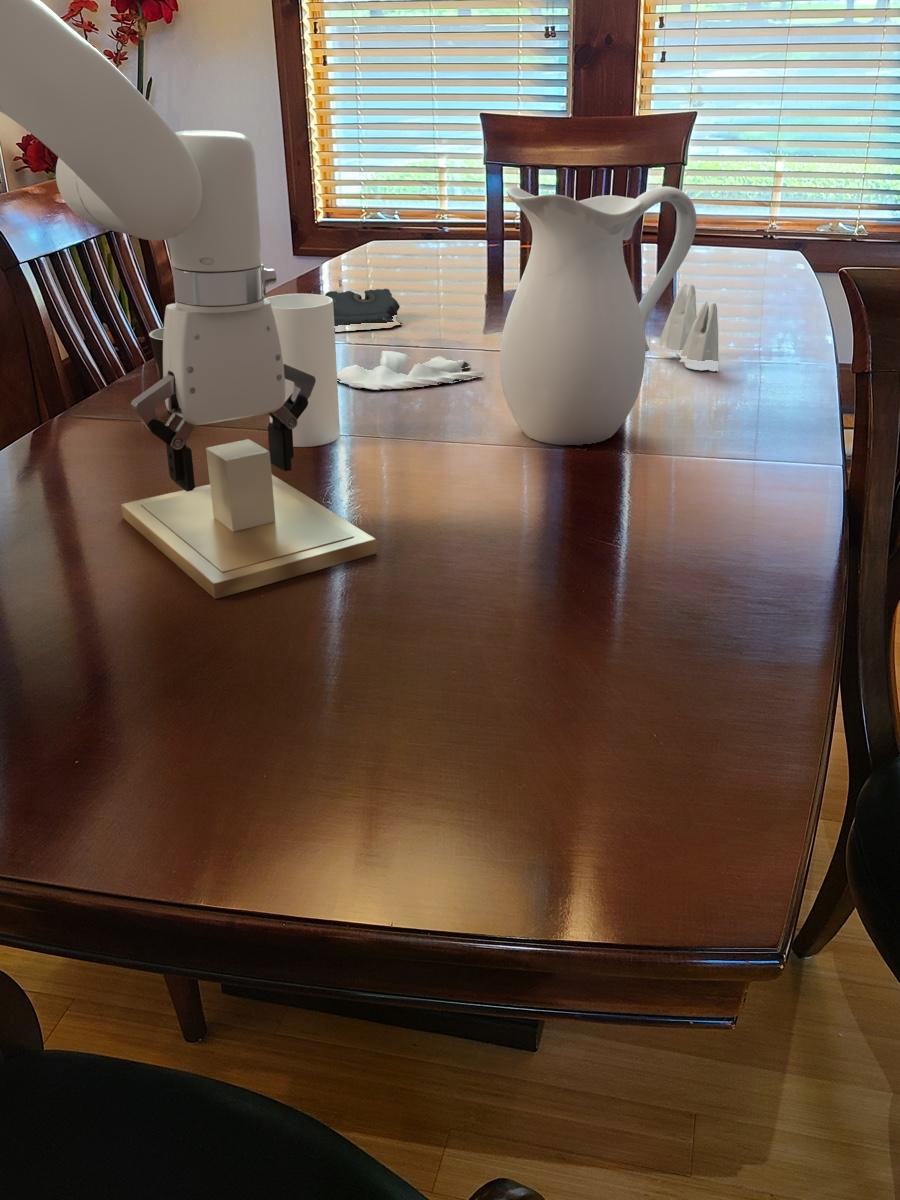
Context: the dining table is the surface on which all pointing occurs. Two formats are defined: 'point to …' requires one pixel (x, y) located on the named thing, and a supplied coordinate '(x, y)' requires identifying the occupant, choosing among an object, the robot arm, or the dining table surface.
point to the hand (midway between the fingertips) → (233, 476)
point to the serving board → (246, 539)
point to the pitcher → (582, 315)
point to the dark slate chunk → (363, 307)
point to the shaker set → (691, 327)
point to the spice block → (241, 484)
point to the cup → (310, 362)
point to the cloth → (418, 376)
